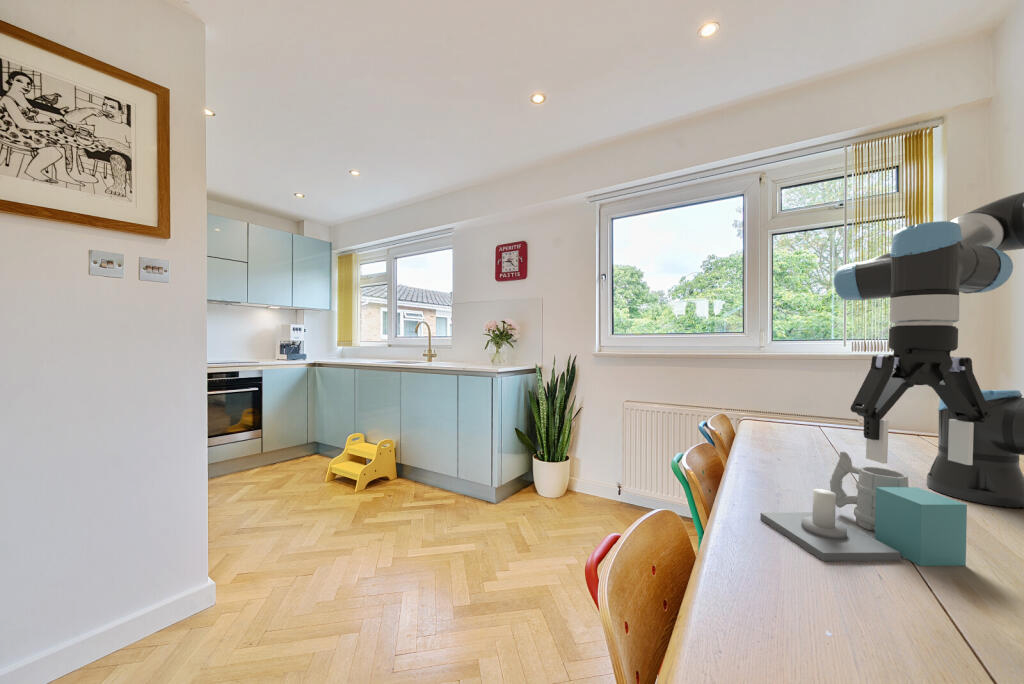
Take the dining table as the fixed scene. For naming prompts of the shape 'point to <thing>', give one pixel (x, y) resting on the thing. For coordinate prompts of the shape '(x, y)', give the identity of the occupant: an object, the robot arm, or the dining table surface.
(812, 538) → the post board
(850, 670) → the dining table surface
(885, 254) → the robot arm
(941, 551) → the teal block
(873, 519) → the mug
